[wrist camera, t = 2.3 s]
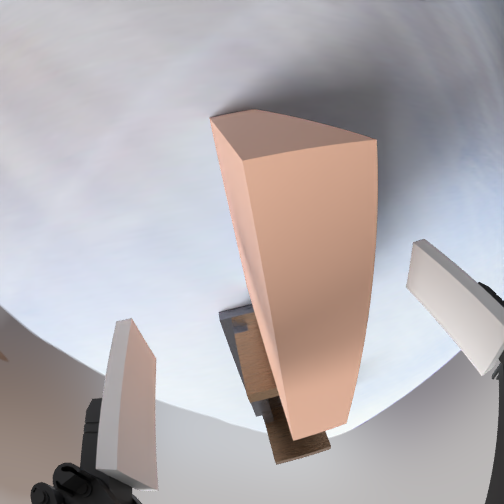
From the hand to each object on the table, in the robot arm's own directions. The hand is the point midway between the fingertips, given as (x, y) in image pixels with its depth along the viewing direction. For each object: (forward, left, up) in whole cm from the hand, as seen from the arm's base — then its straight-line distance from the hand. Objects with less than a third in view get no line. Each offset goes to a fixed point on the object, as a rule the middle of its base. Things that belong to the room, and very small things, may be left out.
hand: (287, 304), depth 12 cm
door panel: (0, 0, -11) cm, 11 cm away
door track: (0, +19, -10) cm, 22 cm away
